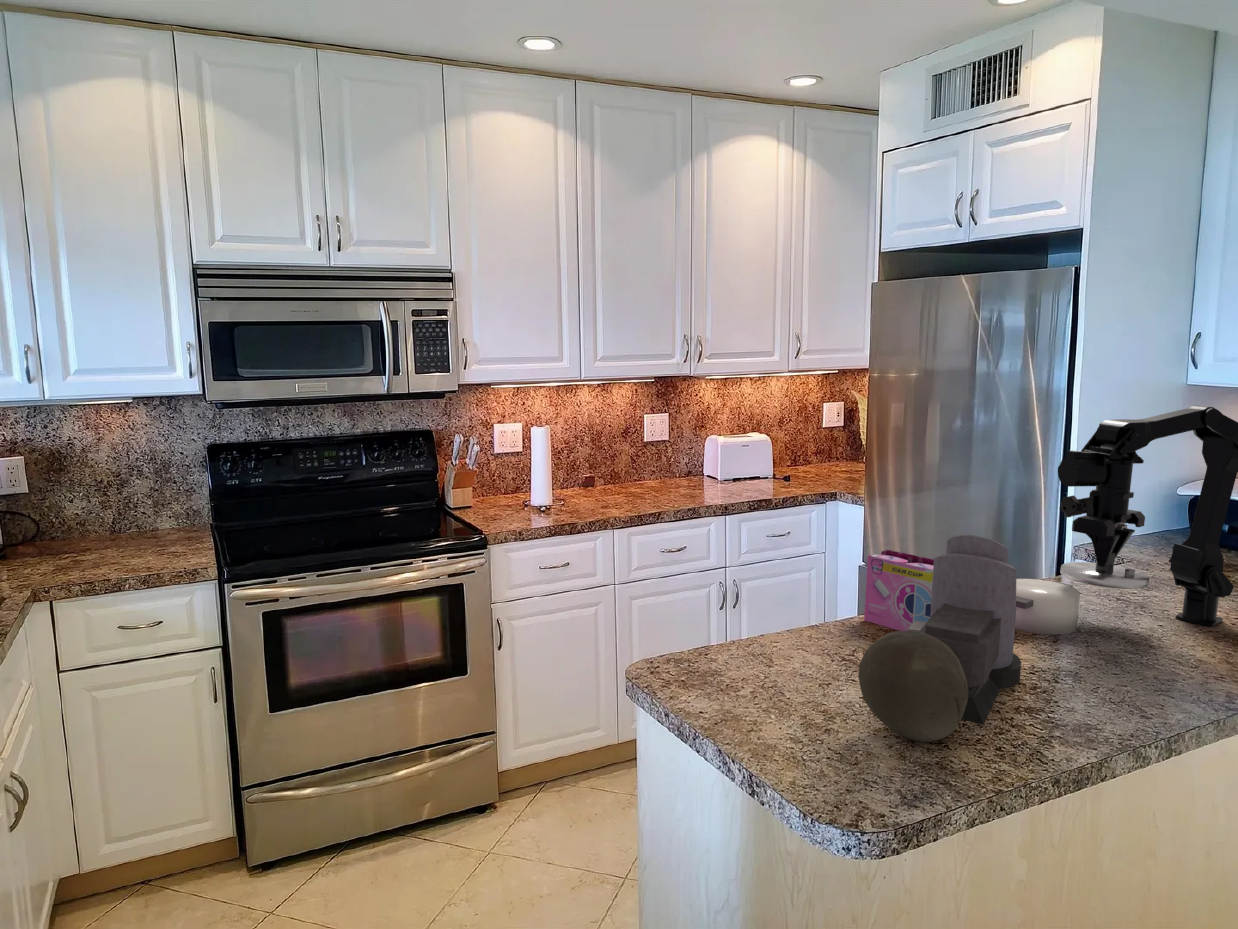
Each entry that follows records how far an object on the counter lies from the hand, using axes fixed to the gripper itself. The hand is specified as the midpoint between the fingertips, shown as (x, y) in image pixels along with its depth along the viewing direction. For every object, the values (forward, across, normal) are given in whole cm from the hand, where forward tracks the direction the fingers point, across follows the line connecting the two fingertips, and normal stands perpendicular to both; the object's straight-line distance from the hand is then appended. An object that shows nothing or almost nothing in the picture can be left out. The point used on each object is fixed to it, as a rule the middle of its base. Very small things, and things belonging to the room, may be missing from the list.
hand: (1104, 565), depth 165 cm
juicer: (+14, +47, -2) cm, 49 cm away
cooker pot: (+13, +7, -8) cm, 17 cm away
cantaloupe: (+14, +71, +4) cm, 73 cm away
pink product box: (+13, +30, -19) cm, 38 cm away
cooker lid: (+2, 0, 0) cm, 2 cm away
